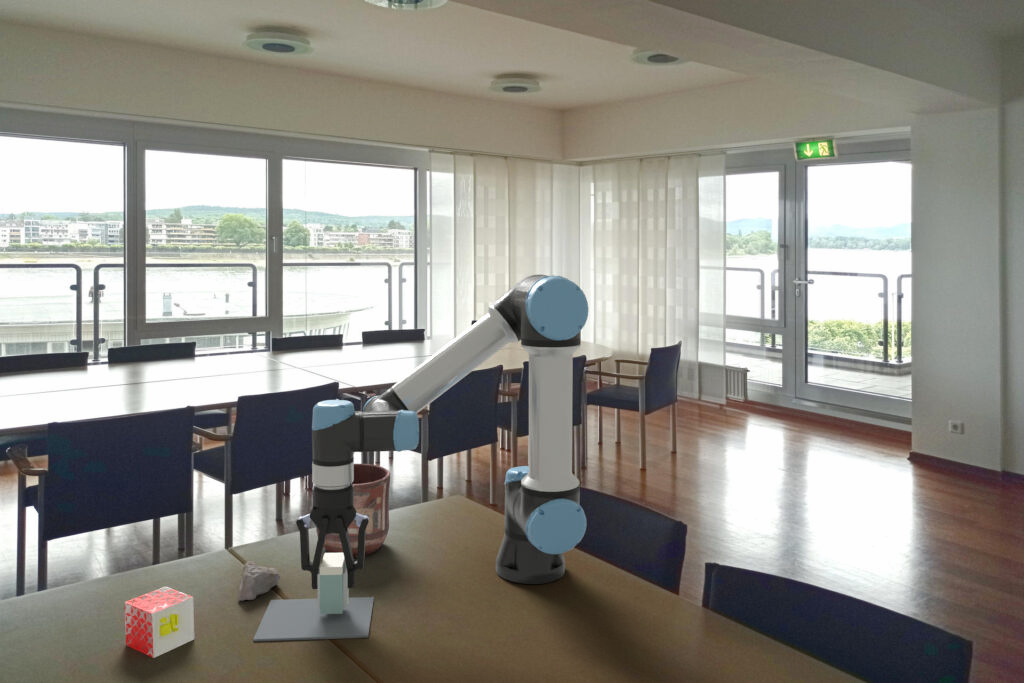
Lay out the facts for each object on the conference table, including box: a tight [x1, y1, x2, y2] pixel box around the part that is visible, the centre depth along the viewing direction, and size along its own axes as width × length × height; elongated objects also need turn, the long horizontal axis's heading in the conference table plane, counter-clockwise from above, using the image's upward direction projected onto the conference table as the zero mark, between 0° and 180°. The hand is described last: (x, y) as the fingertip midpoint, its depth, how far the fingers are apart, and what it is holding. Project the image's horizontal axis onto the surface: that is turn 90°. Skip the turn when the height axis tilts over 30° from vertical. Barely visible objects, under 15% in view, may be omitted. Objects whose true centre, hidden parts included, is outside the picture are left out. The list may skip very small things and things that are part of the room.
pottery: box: [315, 463, 391, 558], centre depth 183 cm, size 18×18×18 cm
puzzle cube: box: [124, 586, 195, 659], centre depth 138 cm, size 8×8×8 cm
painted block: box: [319, 552, 347, 614], centre depth 149 cm, size 4×7×9 cm, turn 6°
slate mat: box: [252, 596, 375, 642], centre depth 148 cm, size 20×16×1 cm
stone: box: [237, 560, 281, 602], centre depth 160 cm, size 10×8×6 cm
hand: (333, 604), depth 149 cm, fingers closed on painted block, 4 cm apart
